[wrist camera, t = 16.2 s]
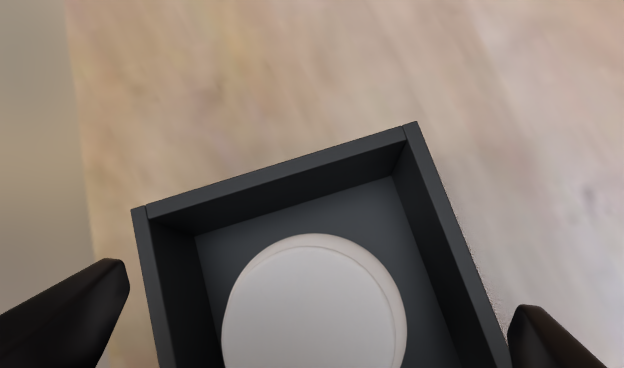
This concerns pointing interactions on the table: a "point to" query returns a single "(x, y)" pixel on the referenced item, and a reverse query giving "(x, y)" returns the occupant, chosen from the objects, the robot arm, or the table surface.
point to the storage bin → (324, 220)
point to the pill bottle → (314, 308)
